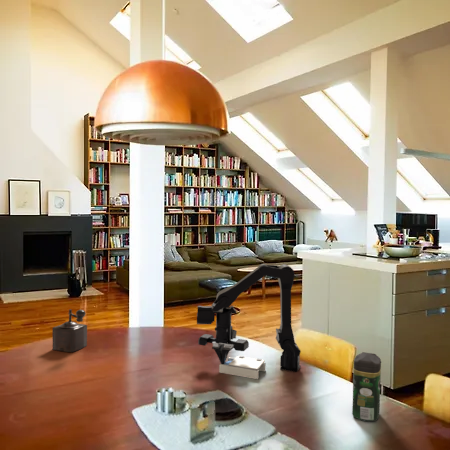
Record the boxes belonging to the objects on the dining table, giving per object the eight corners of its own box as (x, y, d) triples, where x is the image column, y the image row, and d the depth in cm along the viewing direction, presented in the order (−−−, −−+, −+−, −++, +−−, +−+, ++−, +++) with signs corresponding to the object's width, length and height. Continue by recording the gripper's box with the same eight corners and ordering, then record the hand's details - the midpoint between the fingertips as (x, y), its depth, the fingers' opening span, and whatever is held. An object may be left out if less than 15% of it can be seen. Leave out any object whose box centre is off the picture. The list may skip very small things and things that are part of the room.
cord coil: (242, 368, 183) (242, 361, 182) (236, 373, 177) (236, 366, 177) (227, 366, 185) (227, 359, 185) (221, 371, 179) (221, 364, 179)
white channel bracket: (265, 370, 181) (265, 361, 181) (257, 379, 172) (257, 369, 172) (228, 364, 187) (228, 356, 186) (219, 372, 178) (219, 363, 178)
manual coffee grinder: (50, 350, 200) (50, 307, 199) (67, 342, 210) (67, 302, 209) (81, 355, 194) (81, 311, 193) (97, 347, 205) (97, 305, 203)
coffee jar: (354, 406, 151) (356, 348, 150) (380, 411, 148) (382, 352, 147) (349, 419, 142) (351, 358, 141) (377, 424, 139) (380, 362, 138)
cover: (264, 361, 181) (264, 359, 181) (257, 370, 173) (257, 367, 173) (237, 357, 185) (237, 355, 185) (228, 365, 177) (228, 363, 177)
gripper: (254, 322, 185) (253, 361, 186) (210, 316, 193) (209, 354, 194) (243, 329, 175) (243, 371, 176) (197, 323, 182) (197, 363, 183)
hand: (222, 364), depth 183 cm, fingers closed
